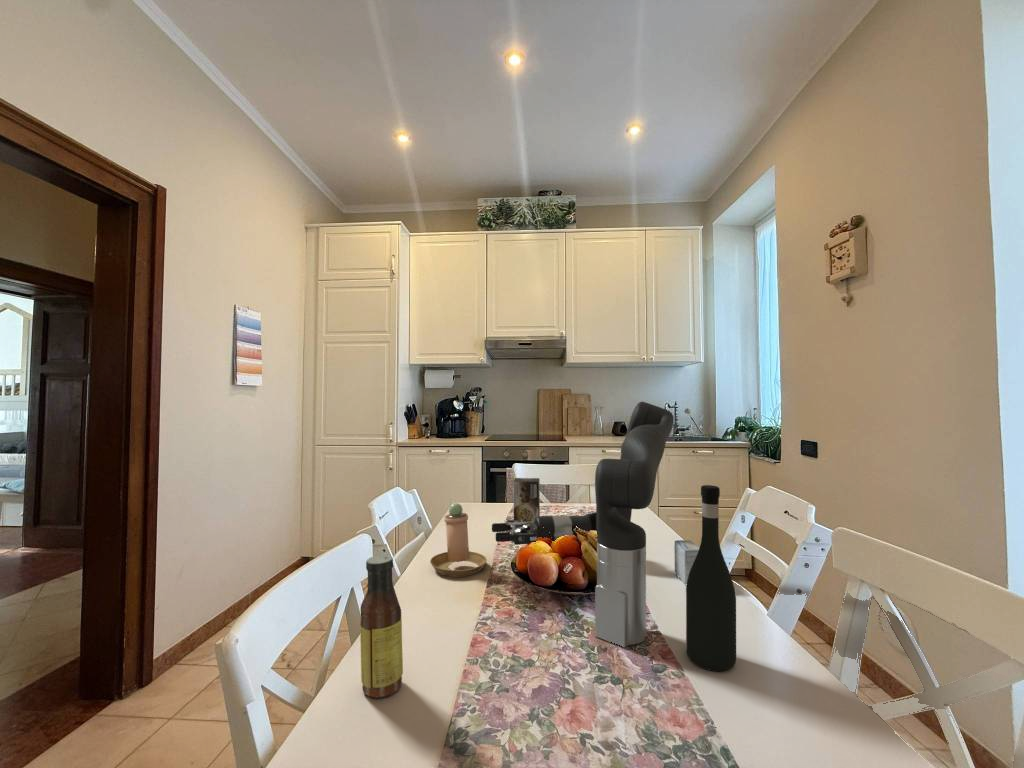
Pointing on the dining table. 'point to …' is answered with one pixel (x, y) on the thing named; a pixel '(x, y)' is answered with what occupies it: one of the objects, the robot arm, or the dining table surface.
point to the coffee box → (526, 498)
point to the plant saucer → (443, 564)
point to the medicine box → (684, 558)
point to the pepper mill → (457, 534)
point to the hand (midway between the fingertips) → (493, 532)
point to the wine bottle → (710, 596)
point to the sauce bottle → (381, 631)
